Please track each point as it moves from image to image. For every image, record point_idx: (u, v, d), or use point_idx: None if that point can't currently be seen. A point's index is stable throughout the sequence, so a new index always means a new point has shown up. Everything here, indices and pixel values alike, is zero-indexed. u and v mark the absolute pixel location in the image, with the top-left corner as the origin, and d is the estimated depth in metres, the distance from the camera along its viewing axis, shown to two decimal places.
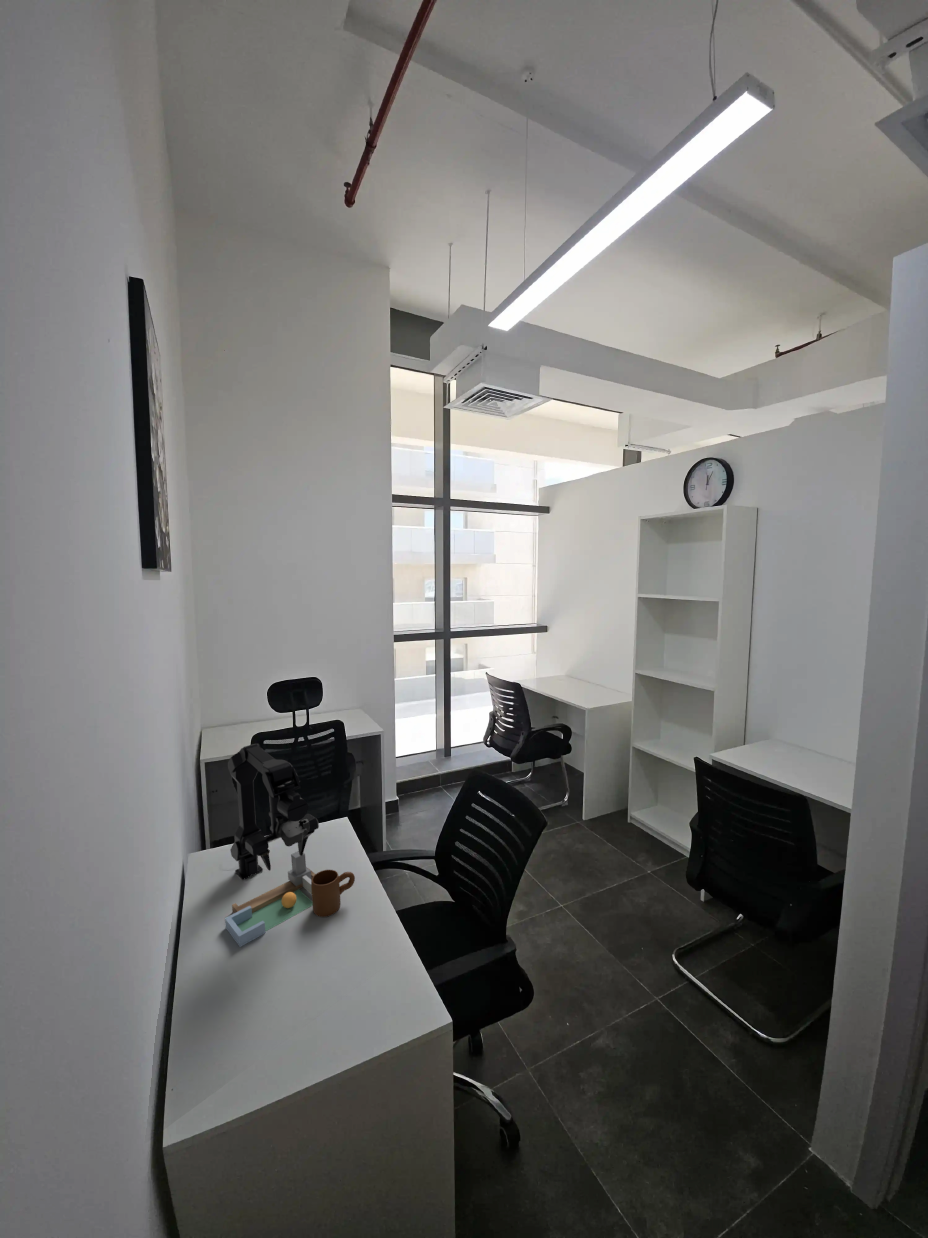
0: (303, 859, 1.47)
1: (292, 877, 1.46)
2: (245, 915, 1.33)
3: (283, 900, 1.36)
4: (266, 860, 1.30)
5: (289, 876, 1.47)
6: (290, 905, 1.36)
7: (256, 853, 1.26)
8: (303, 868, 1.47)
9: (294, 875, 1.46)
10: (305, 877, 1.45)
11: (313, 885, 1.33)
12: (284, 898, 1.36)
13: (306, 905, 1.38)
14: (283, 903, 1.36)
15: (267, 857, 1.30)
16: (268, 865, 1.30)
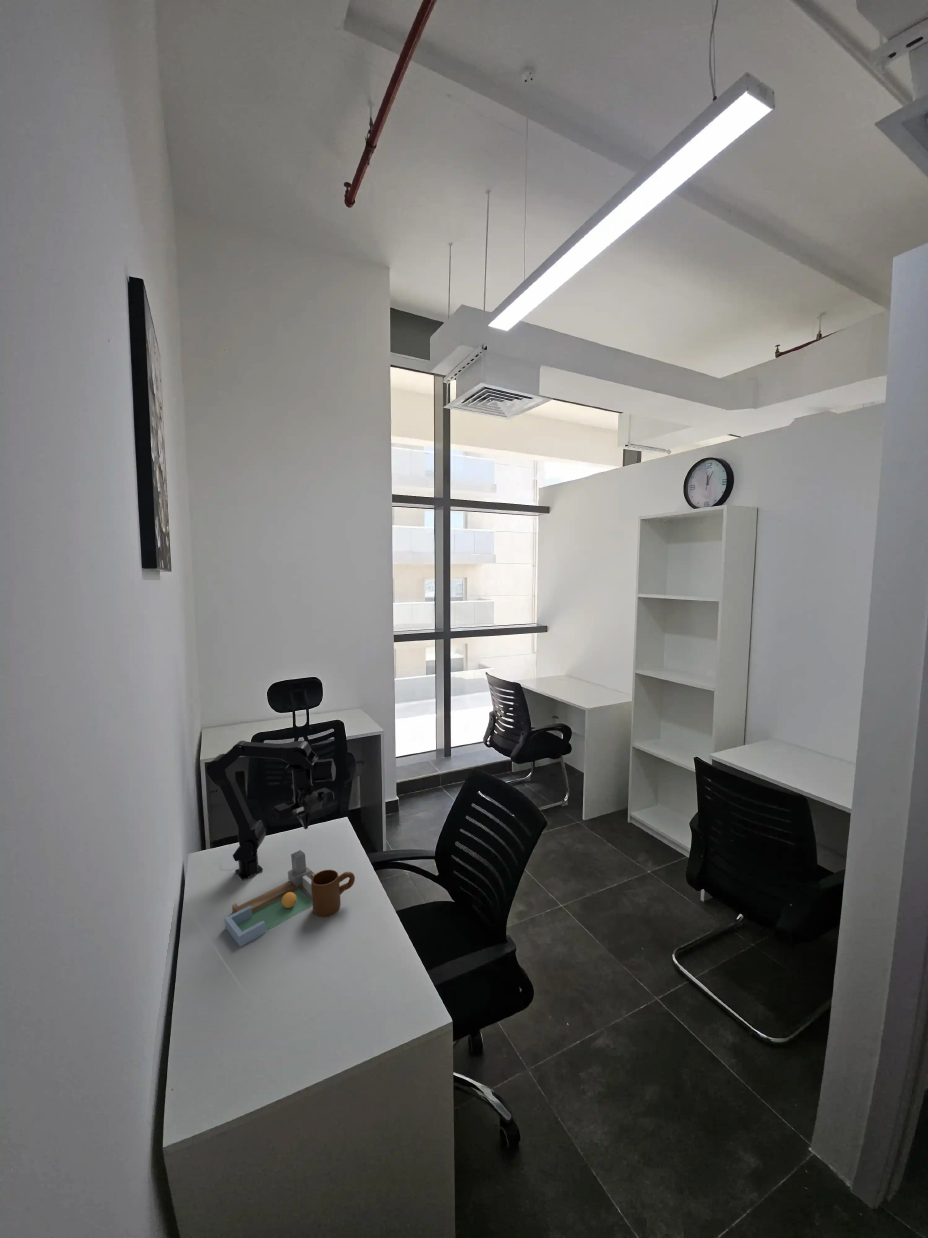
0: (303, 859, 1.47)
1: (292, 877, 1.46)
2: (245, 915, 1.33)
3: (283, 900, 1.36)
4: (303, 820, 1.54)
5: (289, 876, 1.47)
6: (290, 905, 1.36)
7: (282, 818, 1.47)
8: (303, 868, 1.47)
9: (294, 875, 1.46)
10: (305, 877, 1.45)
11: (313, 885, 1.33)
12: (284, 898, 1.36)
13: (306, 905, 1.38)
14: (283, 903, 1.36)
15: (303, 818, 1.54)
16: (304, 824, 1.54)
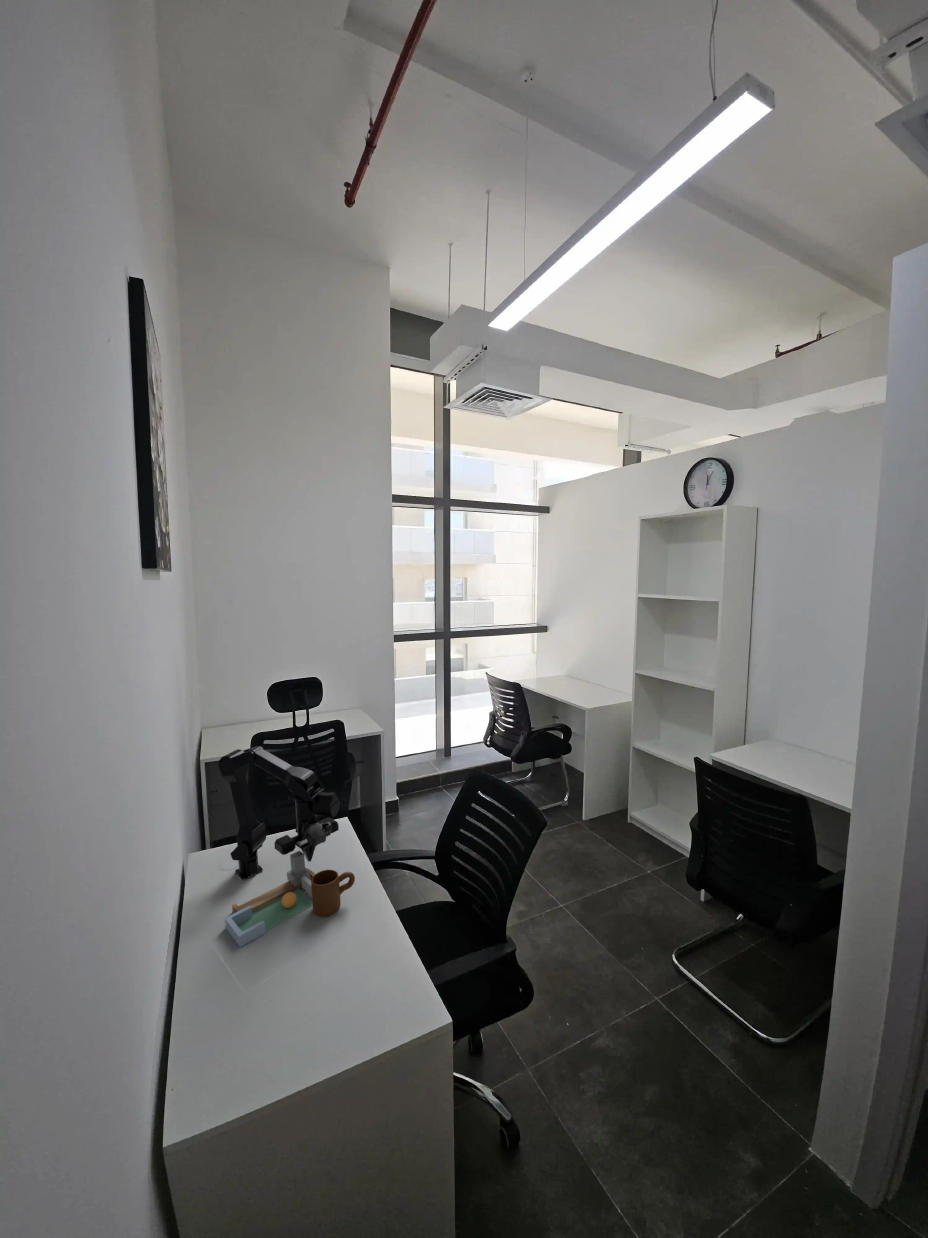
0: (302, 859, 1.47)
1: (291, 877, 1.45)
2: (245, 915, 1.33)
3: (283, 900, 1.36)
4: (307, 852, 1.48)
5: (288, 876, 1.47)
6: (290, 905, 1.36)
7: (285, 853, 1.41)
8: (302, 868, 1.47)
9: (293, 875, 1.45)
10: (304, 877, 1.45)
11: (313, 885, 1.33)
12: (284, 898, 1.36)
13: (306, 905, 1.38)
14: (283, 903, 1.36)
15: (307, 850, 1.48)
16: (308, 857, 1.49)
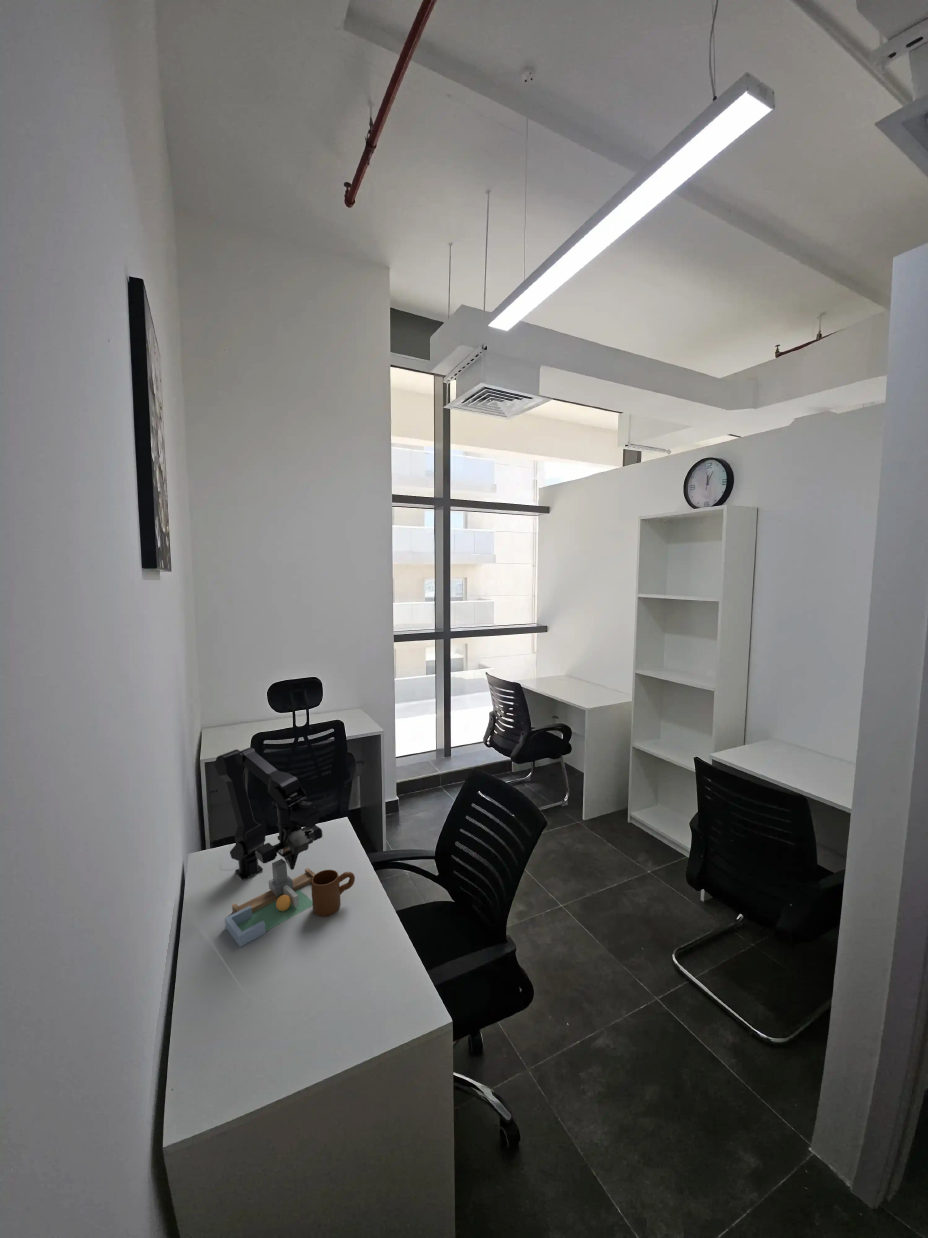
0: (284, 868, 1.43)
1: (273, 887, 1.41)
2: (245, 915, 1.33)
3: (277, 908, 1.35)
4: (289, 860, 1.44)
5: (270, 885, 1.43)
6: (286, 908, 1.35)
7: (266, 861, 1.37)
8: (284, 877, 1.43)
9: (275, 884, 1.41)
10: (286, 887, 1.41)
11: (313, 885, 1.33)
12: (277, 907, 1.35)
13: (306, 905, 1.38)
14: (279, 910, 1.35)
15: (289, 858, 1.44)
16: (291, 865, 1.45)
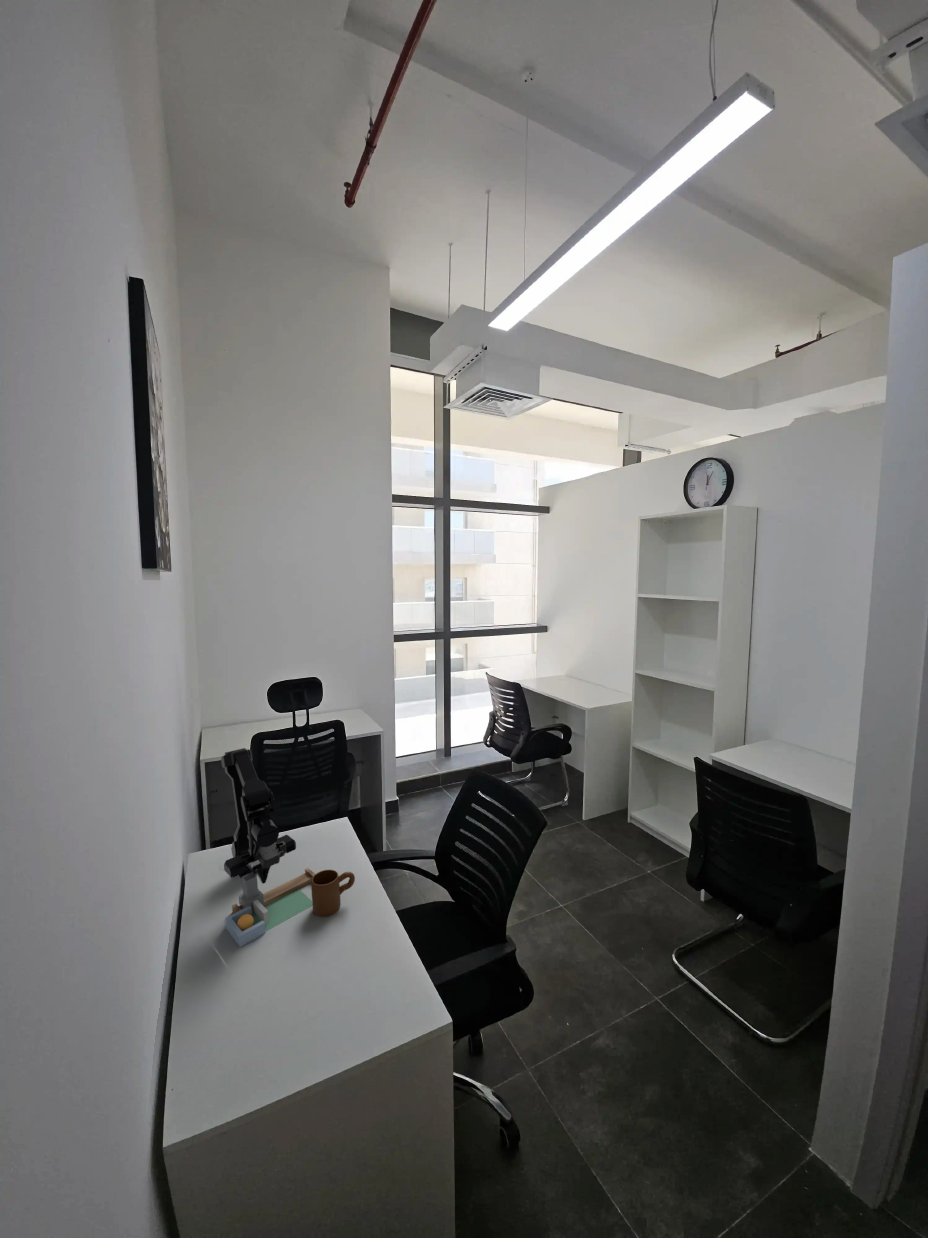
0: (254, 882, 1.37)
1: (242, 901, 1.35)
2: None
3: (240, 921, 1.28)
4: (260, 874, 1.38)
5: (240, 900, 1.37)
6: (246, 928, 1.27)
7: (234, 875, 1.31)
8: (255, 892, 1.37)
9: (244, 899, 1.35)
10: (256, 902, 1.35)
11: (313, 885, 1.33)
12: (241, 919, 1.28)
13: (306, 905, 1.38)
14: (239, 925, 1.27)
15: (260, 871, 1.38)
16: (262, 879, 1.39)
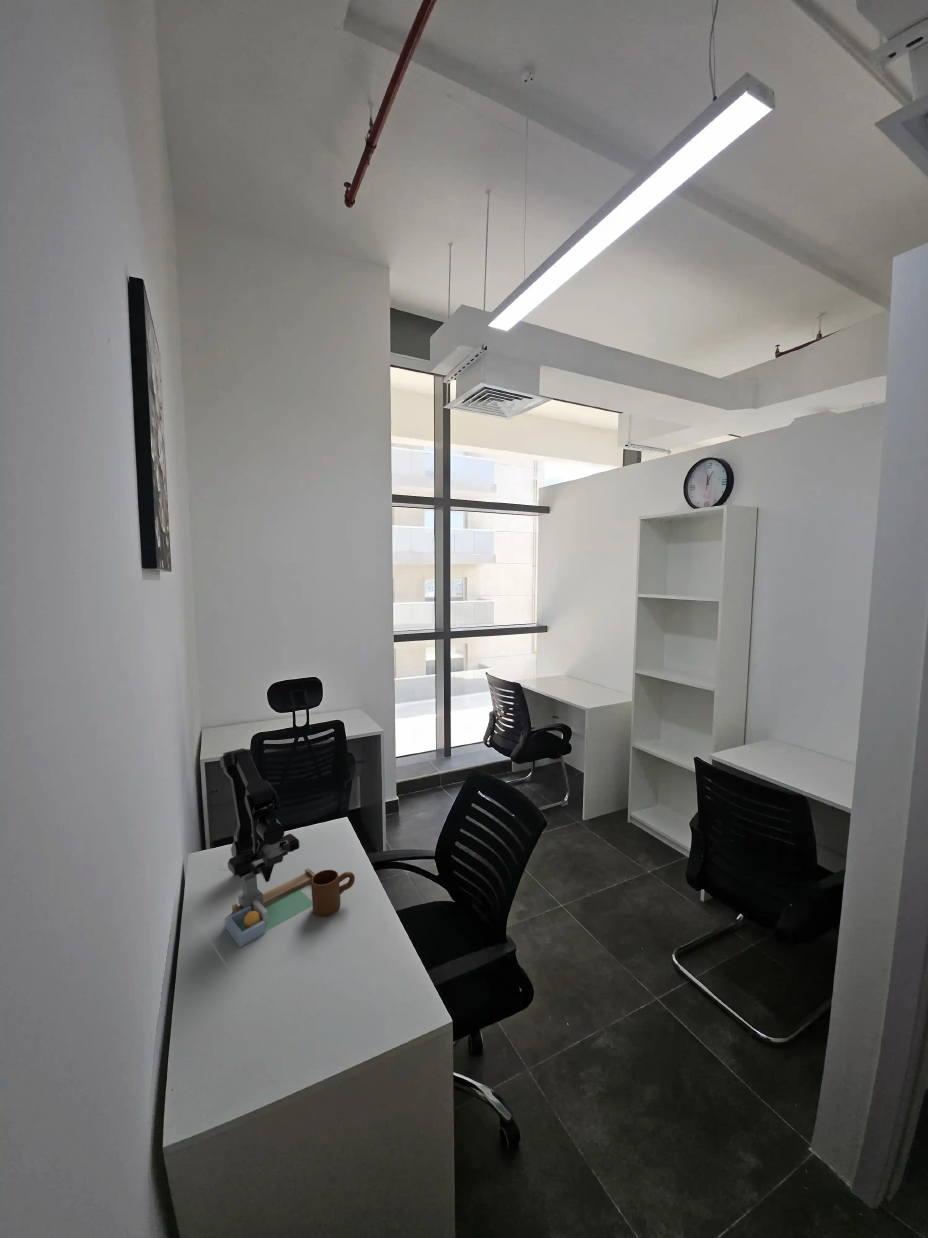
0: (254, 882, 1.36)
1: (242, 902, 1.35)
2: (245, 915, 1.33)
3: (252, 913, 1.30)
4: (263, 872, 1.39)
5: (239, 900, 1.37)
6: (252, 923, 1.29)
7: (237, 873, 1.32)
8: (254, 892, 1.37)
9: (244, 899, 1.35)
10: (256, 902, 1.35)
11: (313, 885, 1.33)
12: (254, 912, 1.30)
13: (306, 905, 1.38)
14: (250, 915, 1.29)
15: (264, 870, 1.39)
16: (265, 877, 1.39)
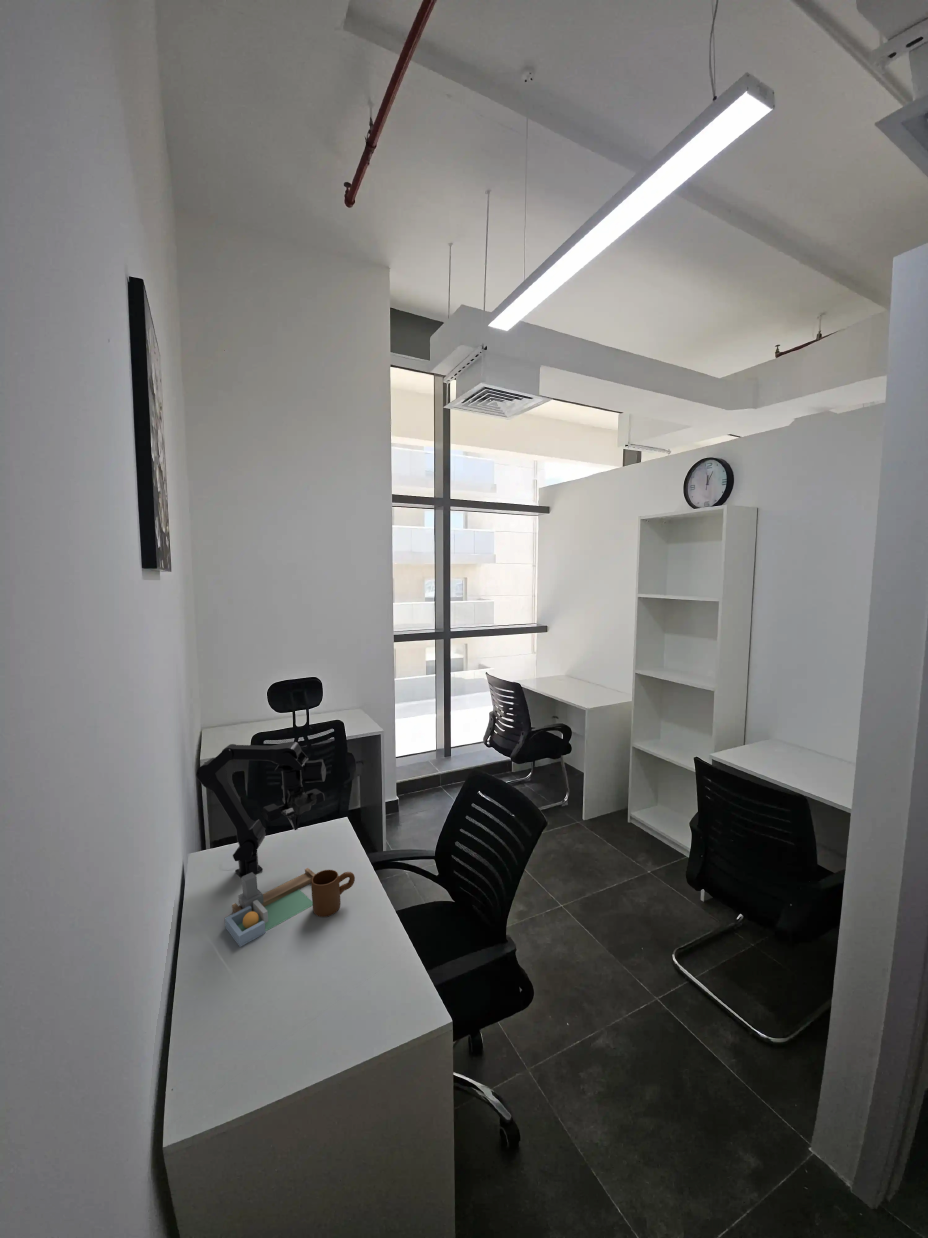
0: (254, 882, 1.36)
1: (242, 902, 1.35)
2: None
3: (249, 914, 1.30)
4: (293, 821, 1.54)
5: (239, 900, 1.37)
6: (251, 924, 1.28)
7: (270, 819, 1.47)
8: (254, 892, 1.37)
9: (244, 899, 1.35)
10: (256, 902, 1.35)
11: (313, 885, 1.33)
12: (252, 913, 1.30)
13: (306, 905, 1.38)
14: (247, 917, 1.29)
15: (293, 819, 1.53)
16: (294, 825, 1.54)
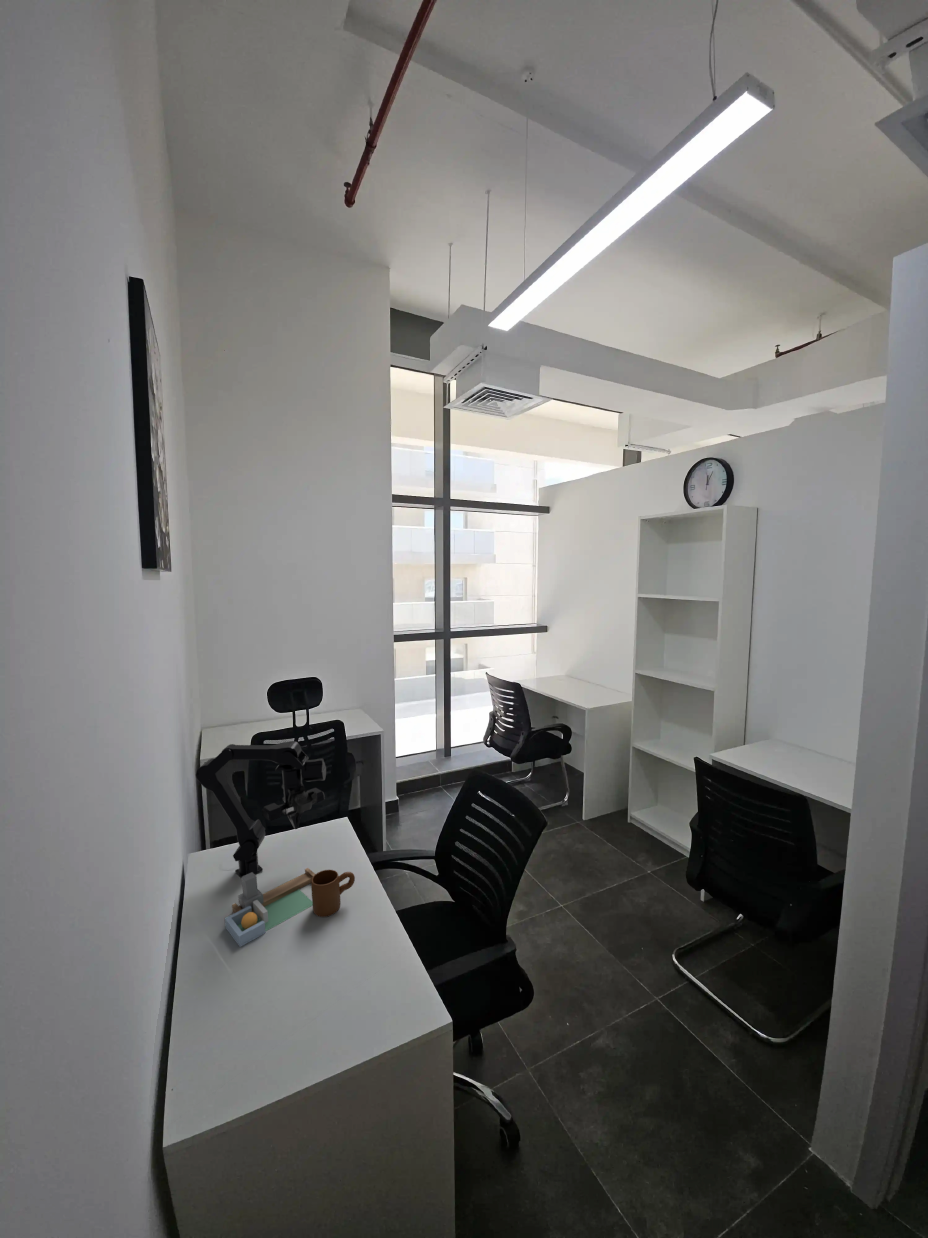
0: (254, 882, 1.36)
1: (242, 902, 1.35)
2: None
3: (247, 915, 1.29)
4: (293, 820, 1.54)
5: (239, 900, 1.37)
6: (249, 925, 1.28)
7: (271, 819, 1.47)
8: (254, 892, 1.37)
9: (244, 899, 1.35)
10: (256, 902, 1.35)
11: (313, 885, 1.33)
12: (249, 914, 1.29)
13: (306, 905, 1.38)
14: (245, 918, 1.29)
15: (294, 818, 1.54)
16: (295, 824, 1.55)
